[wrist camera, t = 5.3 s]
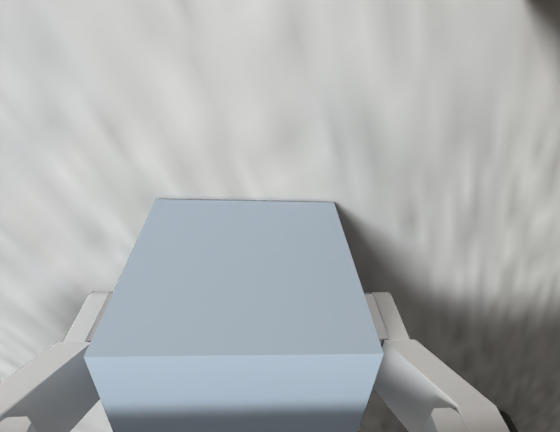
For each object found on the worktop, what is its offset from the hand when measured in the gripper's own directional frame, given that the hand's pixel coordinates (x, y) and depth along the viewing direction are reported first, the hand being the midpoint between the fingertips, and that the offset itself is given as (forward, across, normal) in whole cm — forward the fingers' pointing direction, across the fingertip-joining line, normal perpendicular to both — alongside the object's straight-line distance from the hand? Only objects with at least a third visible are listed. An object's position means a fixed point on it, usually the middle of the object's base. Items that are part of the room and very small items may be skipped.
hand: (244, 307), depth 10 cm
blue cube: (+2, 0, 0) cm, 2 cm away
